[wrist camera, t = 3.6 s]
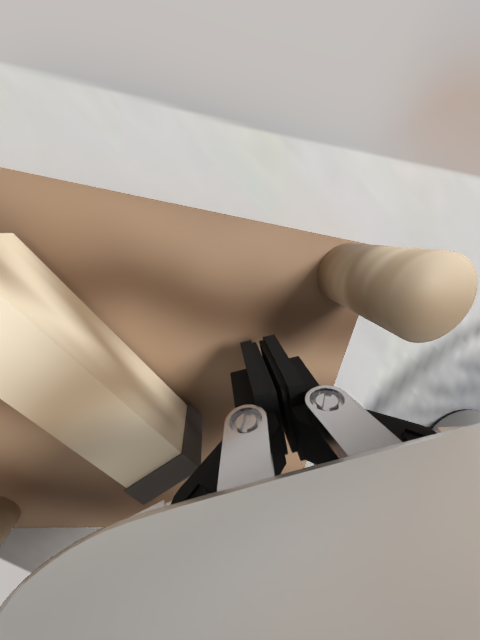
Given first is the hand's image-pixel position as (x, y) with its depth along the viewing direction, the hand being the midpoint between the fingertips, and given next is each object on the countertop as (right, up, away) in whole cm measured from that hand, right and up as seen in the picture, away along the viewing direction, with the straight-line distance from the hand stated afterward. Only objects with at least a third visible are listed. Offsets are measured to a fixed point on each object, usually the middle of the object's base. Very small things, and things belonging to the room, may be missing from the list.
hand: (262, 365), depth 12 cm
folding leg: (-8, 0, 0) cm, 8 cm away
